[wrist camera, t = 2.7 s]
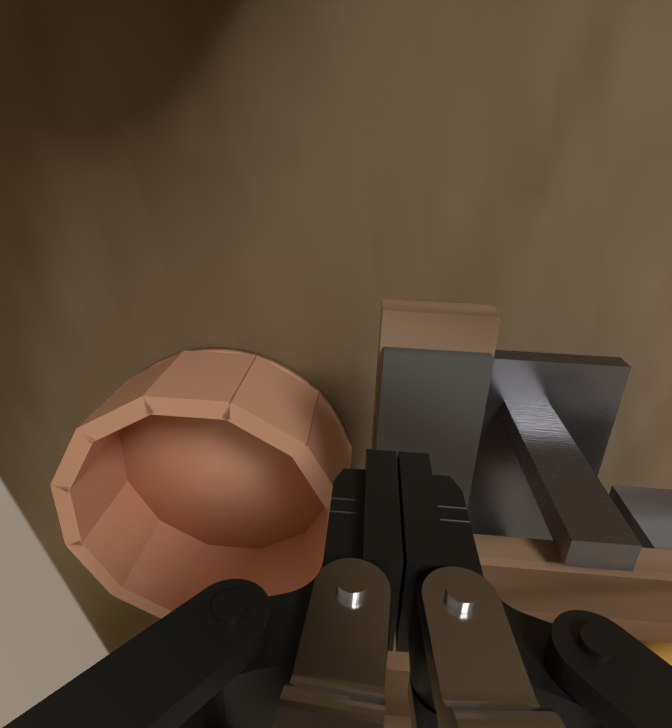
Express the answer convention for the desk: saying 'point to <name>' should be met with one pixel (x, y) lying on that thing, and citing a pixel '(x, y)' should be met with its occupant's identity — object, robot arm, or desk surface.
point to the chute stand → (552, 457)
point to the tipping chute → (457, 459)
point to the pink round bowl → (202, 479)
